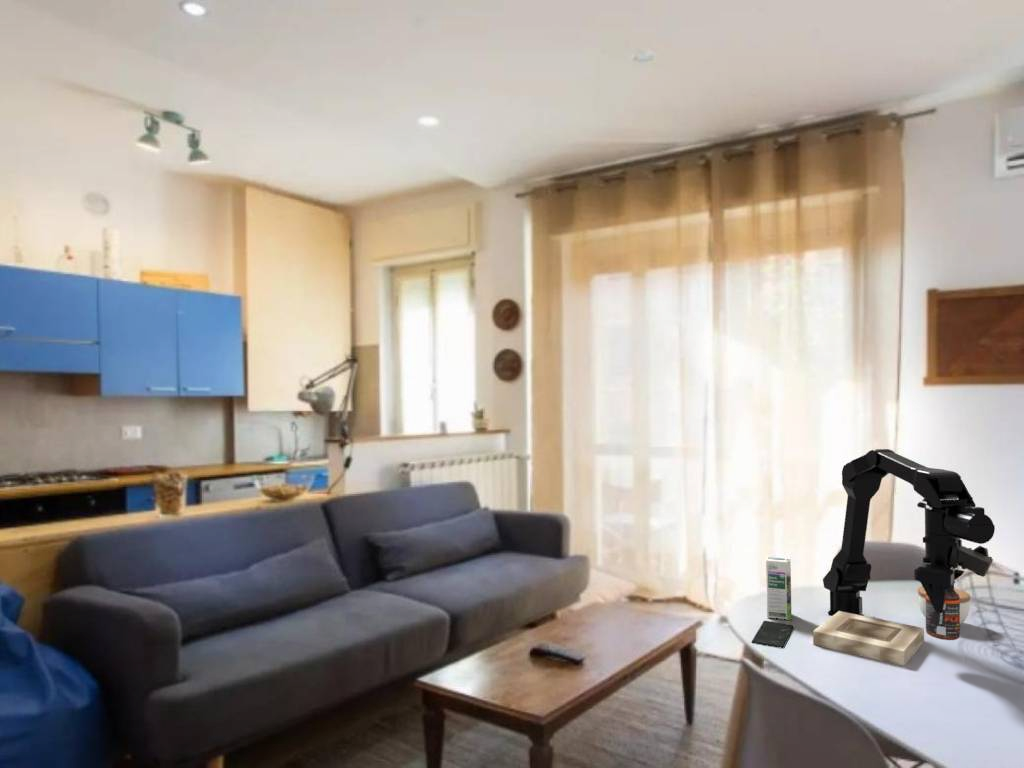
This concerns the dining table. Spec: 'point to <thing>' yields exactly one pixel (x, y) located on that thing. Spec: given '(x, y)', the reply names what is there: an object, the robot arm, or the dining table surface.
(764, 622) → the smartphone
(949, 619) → the supplement bottle
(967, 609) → the lidded jar
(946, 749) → the dining table surface
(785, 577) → the syrup box
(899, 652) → the maple socket board
